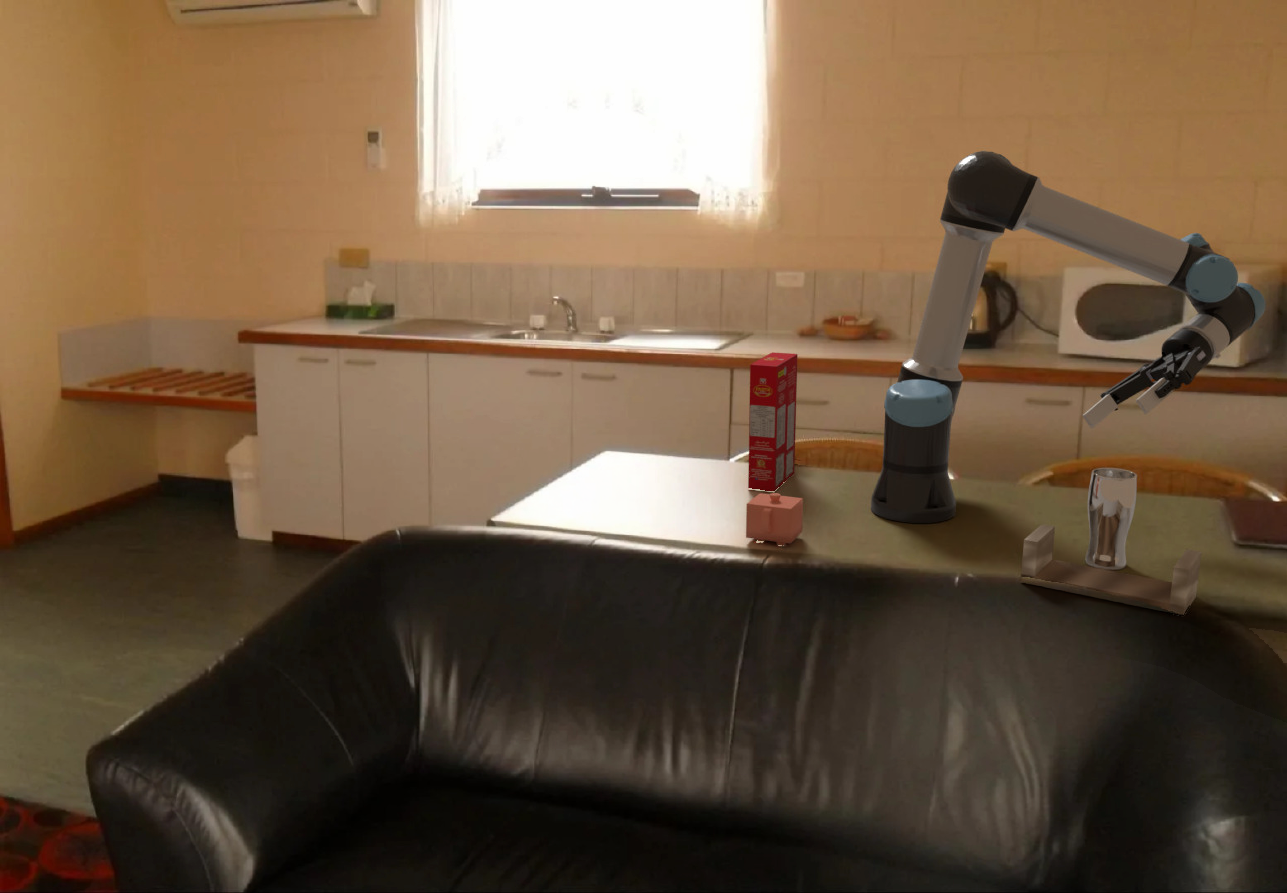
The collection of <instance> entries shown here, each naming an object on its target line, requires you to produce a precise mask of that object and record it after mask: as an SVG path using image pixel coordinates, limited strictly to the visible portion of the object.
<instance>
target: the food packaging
mask: <svg viewBox="0 0 1287 893" xmlns="http://www.w3.org/2000/svg"><path fill="white" fill-rule="evenodd" d="M798 355H799V354H798V353H788V352H787V353H786V352H770V353H768V354H767V355H765V356H763V357H761V358H760V359H758V360H756V361H755V362H752V363H750V365H749V414H748V416H749V424H748V426H749V427H748V429H749V430H748V476H747V477H748V482H747V483H748V486H747V488H752V489H760V490H765V491H775V490H776V489H777V488H778V487H780V486H781V485H782V484H783V482H785V481H786V480H787V479H788V478H789V477H791V476H792V475H793V474H794V475H795V465H796V463H795V462H796V431H797V430H796V428H797V427H796V425H797V424H796V423H797V391H798V390H797V389H798V388H797V384H798V383H797V382H798ZM794 475H793V476H794ZM793 476H792V477H793ZM792 477H791V478H792ZM786 482H787V481H786ZM786 482H785V483H786ZM783 485H784V484H783ZM783 485H782V486H783ZM782 486H781V487H782ZM781 487H780V488H781Z"/></svg>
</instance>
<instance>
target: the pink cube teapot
mask: <svg viewBox="0 0 1287 893" xmlns="http://www.w3.org/2000/svg"><path fill="white" fill-rule="evenodd" d="M745 509H746V513H745V514H746V515H745V517H746V519H745V521H746V523H745V525H746V526H745V530H746V531H745V538H746V539H752V540H758V541H764V540H765V541H768V542H775V543H776V545H777V544H778V545H782V546H783V545H787V544H792V543H793V541H795V540H796V539H797V538H798V536H800V535H801V534H802V533H803V514H804V512H803V510H804V498H803V497H794V496H786V495H781V494H780V493H778V492H775V493H770V494H769V493H763V492H760V493H758V494H757V495H756V496H754V497H753V498H752V499H750V500H749V502H747V503H746V508H745ZM765 541H764V542H765Z"/></svg>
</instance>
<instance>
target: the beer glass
mask: <svg viewBox="0 0 1287 893" xmlns="http://www.w3.org/2000/svg"><path fill="white" fill-rule="evenodd" d="M1137 478H1138V474H1137V473H1135V472H1134V471H1131V470H1128V469H1123V468H1119V467H1099V468H1098V467H1097V468H1094V469H1092V471H1091V476H1090V483H1089V487H1088V494H1087V519H1088V526H1089V542H1088V548H1087V551H1086V555H1085V558H1084V559H1085V561H1084V562H1085V564H1087V566H1089V567H1094V568H1099V569H1105V570H1110V571H1117V570H1122V569H1124V568H1126V566H1127V557H1126V544H1127V538H1128V535H1129V534H1128V533H1129V531H1130V527H1131V525H1132V521H1133V517H1134V513H1135V509H1136V501H1137Z"/></svg>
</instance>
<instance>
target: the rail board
mask: <svg viewBox="0 0 1287 893" xmlns="http://www.w3.org/2000/svg"><path fill="white" fill-rule="evenodd" d="M1055 528H1056V526H1054V525H1050V524H1044V523H1043V524H1042V523H1041V524H1040V525H1039V526H1038V527H1037V528H1035V530H1033V531H1032V532H1031V533H1030V534H1028V535H1027V536H1026V538H1024V539H1023V549H1022V550H1023V551H1022V562H1021V573H1020V576H1021V577H1030V578H1035V579H1041V580H1045V581H1051V582H1059V583H1065V584H1069V585H1073V586H1078V587H1086V588H1087V589H1092V590H1093V589H1094V590H1096V591H1100V592H1105V593H1109V594H1112V595H1116V596H1124V597H1127V598H1128V597H1129V598H1131V599H1132V598H1133V599H1135V600H1138V601H1139V600H1140V601H1144V602H1146V603H1148V604H1150V605H1152V606H1153V605H1154V606H1157V607H1158V606H1159V607H1161V608H1162V609H1166V610H1168V611H1173V612H1175V613H1178V614H1183V615H1184V613H1185V611H1186V609H1187V607H1188V606H1189V605H1190V606H1192V604H1193V602H1194V601H1195V600H1196V597H1197V591H1198V583H1199V575H1200V566H1201V558H1202V551H1199V550H1193V549H1187V548H1186V549H1185V551H1184V552H1183V553H1182V555H1181V557H1179V559H1178V560H1177V562H1176V563H1175V565H1174V566H1173V571H1172V577H1171V578H1172V581H1168V580H1162V579H1157V578H1151V577H1146V576H1141V575H1136V574H1131V573H1127V572H1126V573H1125V572H1120V571H1116V570H1106V569H1099V568H1095V567H1092V566H1090V565H1082V564H1077V563H1073V562H1068V561H1061V560H1058V559H1053V552H1054V540H1055ZM1021 577H1020V578H1021ZM1185 614H1186V613H1185ZM1184 616H1185V615H1184Z"/></svg>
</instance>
